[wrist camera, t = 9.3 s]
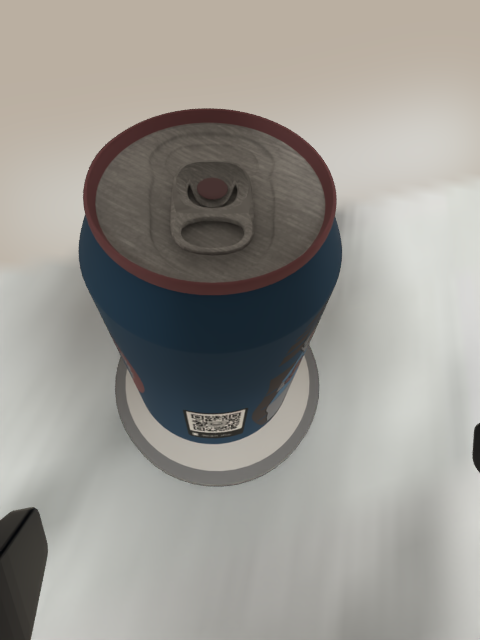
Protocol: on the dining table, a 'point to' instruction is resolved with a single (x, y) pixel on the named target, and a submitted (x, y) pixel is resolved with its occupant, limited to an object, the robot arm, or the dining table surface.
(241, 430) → the soda can
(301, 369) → the ring coaster
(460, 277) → the dining table surface
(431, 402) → the dining table surface
